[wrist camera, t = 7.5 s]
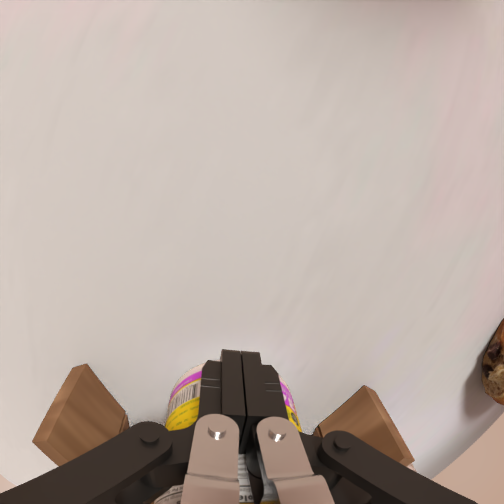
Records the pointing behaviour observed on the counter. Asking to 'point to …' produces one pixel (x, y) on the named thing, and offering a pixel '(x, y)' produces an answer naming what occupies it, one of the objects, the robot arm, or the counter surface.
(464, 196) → the counter surface
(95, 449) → the robot arm
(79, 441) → the holder
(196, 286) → the counter surface
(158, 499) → the supplement bottle
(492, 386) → the bread roll
